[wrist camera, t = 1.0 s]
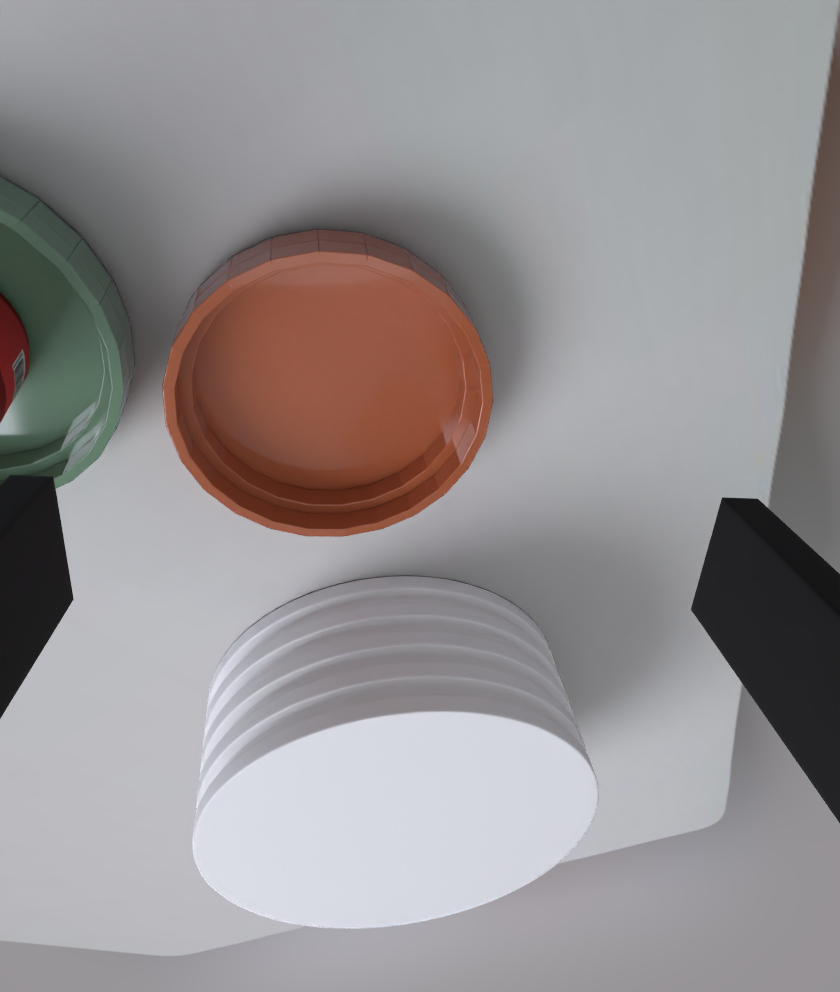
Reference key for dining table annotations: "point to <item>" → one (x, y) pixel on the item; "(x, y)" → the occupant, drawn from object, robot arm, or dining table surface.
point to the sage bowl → (60, 344)
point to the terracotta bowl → (327, 384)
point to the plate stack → (388, 757)
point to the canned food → (11, 354)
